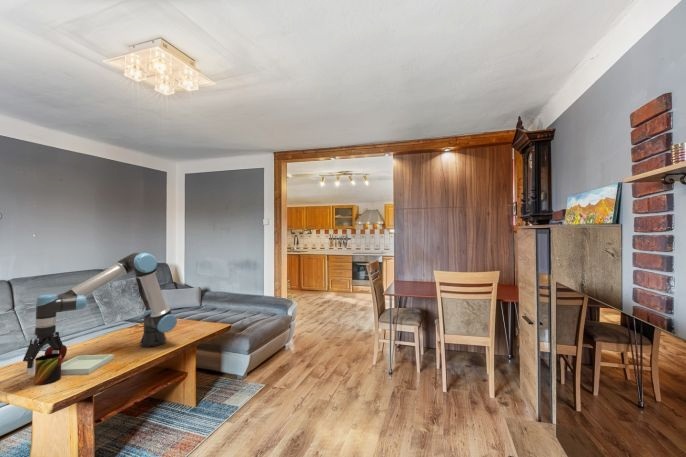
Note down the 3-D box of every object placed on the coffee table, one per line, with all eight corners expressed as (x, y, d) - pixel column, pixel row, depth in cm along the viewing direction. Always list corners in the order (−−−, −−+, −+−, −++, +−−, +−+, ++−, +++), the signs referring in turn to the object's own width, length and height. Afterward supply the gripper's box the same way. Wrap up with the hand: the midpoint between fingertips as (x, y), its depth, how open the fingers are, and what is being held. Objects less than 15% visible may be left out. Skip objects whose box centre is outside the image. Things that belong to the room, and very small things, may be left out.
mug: (40, 376, 160) (40, 353, 160) (66, 376, 159) (66, 353, 160) (20, 385, 150) (21, 360, 151) (47, 385, 150) (48, 360, 150)
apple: (62, 358, 185) (62, 341, 185) (69, 360, 180) (70, 343, 181) (41, 363, 176) (41, 346, 177) (48, 366, 172) (49, 348, 172)
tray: (113, 359, 182) (113, 354, 182) (88, 374, 162) (89, 368, 162) (77, 360, 180) (77, 355, 180) (47, 375, 160) (48, 370, 160)
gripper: (58, 319, 168) (56, 359, 167) (13, 333, 143) (11, 379, 142) (72, 319, 168) (71, 358, 167) (31, 332, 144) (28, 379, 143)
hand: (43, 368), depth 155 cm, fingers open, 13 cm apart
